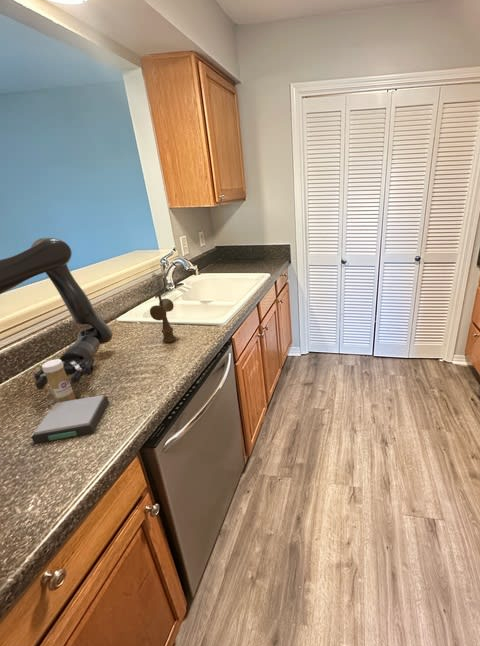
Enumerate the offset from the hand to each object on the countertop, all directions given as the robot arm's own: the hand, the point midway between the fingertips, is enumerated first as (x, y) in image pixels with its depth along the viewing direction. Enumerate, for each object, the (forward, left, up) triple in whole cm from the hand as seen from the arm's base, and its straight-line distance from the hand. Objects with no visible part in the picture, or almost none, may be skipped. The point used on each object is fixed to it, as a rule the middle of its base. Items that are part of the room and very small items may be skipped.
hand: (55, 383), depth 89 cm
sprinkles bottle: (0, +1, -8) cm, 8 cm away
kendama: (+24, +36, -8) cm, 44 cm away
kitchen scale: (+5, -8, -8) cm, 13 cm away
